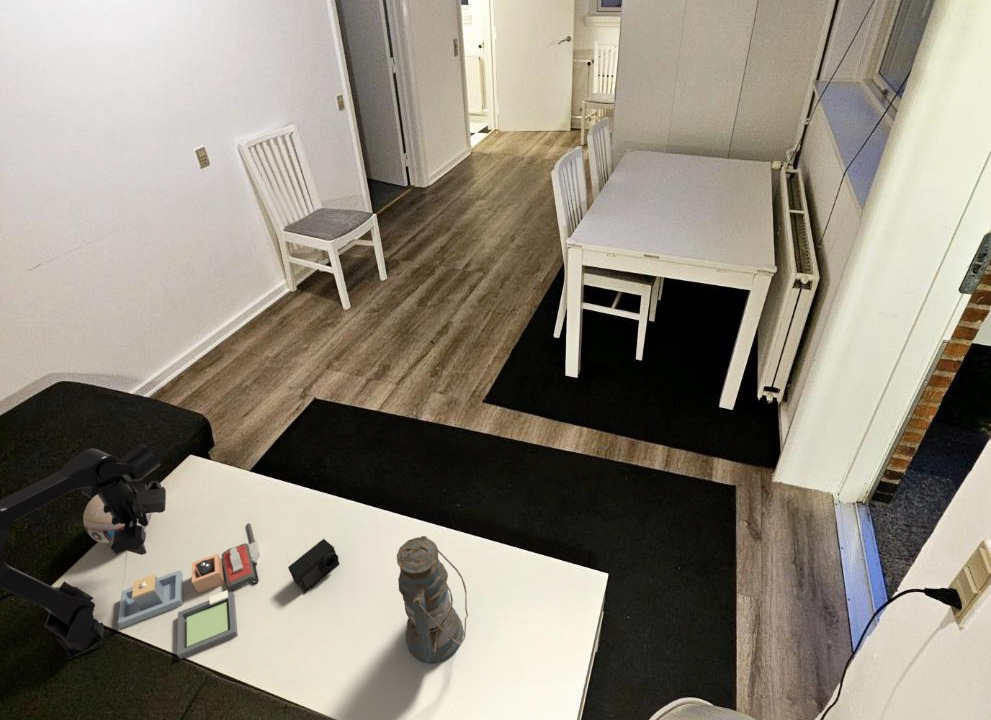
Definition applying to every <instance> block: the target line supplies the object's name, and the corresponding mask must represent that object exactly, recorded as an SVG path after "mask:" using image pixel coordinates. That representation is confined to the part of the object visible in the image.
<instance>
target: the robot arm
mask: <svg viewBox="0 0 991 720" xmlns="http://www.w3.org/2000/svg"><path fill="white" fill-rule="evenodd" d="M160 466H161V461H160V458H158V457H157V456H156V455H155V453H153V452H152V451H151V450H149V448H148V446H146V445H143V444H139V445H137V446H136V447H135V448H134V449H133V450H131V451H130V452H129V453H127V454H126V455H125V456H123V457H121V459H120V458H118V457H116V456H113V455H111V454H108V453H106V452H104V451H102V450H99V449H96V448H93V447H92V448H88V449H84V450H83V451H82V452H80V453H78V454H77V455H75V456H74V457H72V458H70V459H69V460H68V462H66V464H65V465H64V466H63V468H61V469H60V470H58V471H57V472H54V473H52V474H50V475H49V476H46V477H44V478H42V479H40V480H38V481H36V482H34V483H32V484H30V485H28V486H25V487H24V488H21V489H20V490H18V491H16V492H13V493H12V494H9V495H7V496H5V497H4V498H2V499H0V589H1V590H4V591H6V592H8V593H11V594H13V595H16V596H17V597H20V598H22V599H24V600H26V601H29V602H32V603H33V604H35V605H38V606H40V607H42V608H44V609H45V610H46V611H47V612H48V615H47V617H46V621H45V623H44V627H45V628H47V629H48V630H50V631H51V632H53V633H54V634H55V635H56V636H55V639H56V641H57V642H58V643H59V644H60V645H61V646H62V647H63V648H64V649H65V650H66V651H67V655H66V659H67V660H68V659H70V660H72V659H71V658H73V657H75V654H76V655H77V653H80V652H83V651H84V650H86V649H88V648H90V647H91V646H92V645H94V643H96V642H98V641H100V639H103V638H104V631H105V628H104V622H99V620H98V619H97V618H94V611H95V607H96V603H95V602H93V601H92V600H94V597H93V596H91V595H90V594H88V593H87V592H85V591H83V590H81V589H80V588H79V587H77V586H72V585H71V584H69V583H67V582H66V581H63V582H62V583H61V585H60V586H57V587H55V586H51V585H50V584H47V583H45V582H44V581H41V580H39V579H38V578H36V577H33V576H30V575H29V574H27V573H25V572H22V571H20V570H19V569H17V568H14V567H13V566H10V565H8V564H7V562H5V561H4V560H3V559H2V558H1V556H2V554H3V552H4V550H5V549H6V542H7V540H8V539H7V538H8V534H9V530H10V528H11V527H12V525H13V523H14V522H17V520H19V519H21V518H24V517H26V516H28V515H29V514H31V513H33V512H34V511H36V510H39V509H40V508H42V507H44V506H46V505H48V504H50V503H52V502H55V500H57V499H59V498H61V497H63V496H65V495H67V494H69V493H71V492H73V491H75V490H78V489H82V490H81V494H83V495H85V496H87V497H89V498H91V499H92V498H93V497H95V496H96V495H98V496H99V498H100V499H101V501H102V502H103V504H104V509H103V511H104V512H105V513H108V512H110V514H111V515H112V524H113V525H116V524H119V523H120V524H125V527H124V529H123V530H120V531H117V532H114V534H113V535H112V538H111V544H110V545H109V546H110V550H111V551H112V552H113V553H114V554H116V555H118V554H120V553H123V552H126V551H127V552H130V553H134V554H137V555H141V556H142V555H147V549H146V546H145V542H146V539H147V538H146V537H147V531H145V529H144V528H143V527H142V526H147V527H148V526H149V523H148V519H147V514H146V513H151V514H153V513H154V514H155V513H158V514H159V513H164V512H165V511H166V506H167V505H166V501H167V497H166V494H167V491H166V488H165V486H162V483H160V481H158V480H151V481H150V482H149V483H148V485H147V484H146V483H141V482H140V481H142V480H143V479H144V478H145V477H147V476H148V475H149V474H151V473H152V472H153V471H155V470H156V469H157V468H158V467H160ZM127 481H128V482H131V483H132V482H133V481H134V482H136V483H135V484H132V485H129V484H128V482H127ZM138 523H139V524H141V525H142V526H138V525H137V524H138ZM99 645H100V644H99ZM74 652H75V653H74ZM69 656H70V657H69ZM75 658H76V657H75ZM73 659H74V658H73Z"/></svg>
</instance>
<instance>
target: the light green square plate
mask: <svg viewBox="0 0 991 720" xmlns="http://www.w3.org/2000/svg"><path fill="white" fill-rule="evenodd" d="M228 630H230V620H229V605H228V602H225V603H222V604H220V605H217V606H215V607H212V608H210V609H207V610H204V611H202V612H199V613H197V614H194V615H192V616H189V617H187V618H186V647H189V646H191V645H194V644H196V643H199V642H201V641H204V640H206V639H208V638H211V637H213V636H216V635H218V634H221V633H223V632H226V631H228Z"/></svg>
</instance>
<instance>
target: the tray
mask: <svg viewBox="0 0 991 720" xmlns="http://www.w3.org/2000/svg"><path fill="white" fill-rule="evenodd" d="M157 579H158V580H159V582H160V583H161V584H162V586H163V587H164V603H162V604H159V605H156V606H154V607H151V608H148V609H146V610H143V611H142V610H141V609H140V607H139V606H138V605H137V603H136V602H135V601H134V599H133V598H132V593H133V586H132V587H129V588H127V589H125V590H122V591H121V593H120V594H121V595H120V602H119V603H120V605H119V615H118V622H117V623H118V626H120V627H121V628H122V629H123V628H127V627H128V626H131V625H134V624H136V623H140V622H142V621H144V620H147V619H149V618H152V617H155V616H157V615H160V614H163V613H165V612H167V611H170V610H173V609H176V608H178V607H180V606H183V605H184V574H183V571H182V570H181V569H178V570H176V571H174V572H171V573H168V574H166V575H163V576H160V577H157Z"/></svg>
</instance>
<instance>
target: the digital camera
mask: <svg viewBox="0 0 991 720" xmlns="http://www.w3.org/2000/svg"><path fill="white" fill-rule="evenodd" d="M338 566H340V561H339V555H337V552H336V550H335V547H334V545H332V544H331V543H330V542H328V541H327V540H326V539H325V538H322V539H321V540H320V541H319V542H317V543H316V544H315V545H313V546H312V547H311V548H310V549H309V550H307V551H306V552H305V553H304V554H302V555H301V556H300V557H298V558H297V559H296V560H295V561H294V562H293V563H291V564H290V565H289V566H288V567H287V568H288V570H289V573H290V574H291V577H292V580H293V582H294V584H296V585H297V586H298V588H300V589H301V590H302V591H301V592H303V593H304V594H307V593H308V592H309V591H310V590H312V589H313V588H314V587H315V586H316V585H317V584H318V583H320V582H321V581H322V580H323V579H325V577H327V576H328V575H329V574H330V573H331V572H333V570H335V569H336V568H337V567H338Z"/></svg>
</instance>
